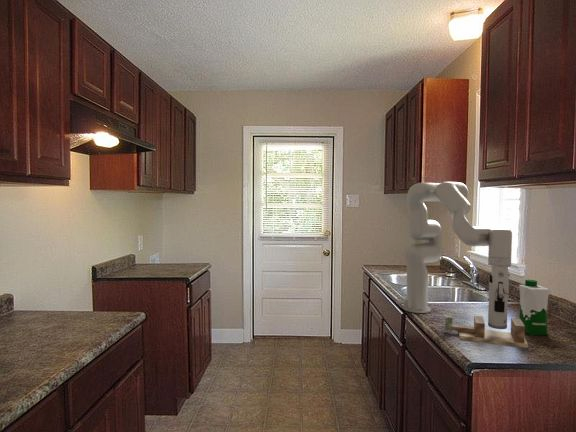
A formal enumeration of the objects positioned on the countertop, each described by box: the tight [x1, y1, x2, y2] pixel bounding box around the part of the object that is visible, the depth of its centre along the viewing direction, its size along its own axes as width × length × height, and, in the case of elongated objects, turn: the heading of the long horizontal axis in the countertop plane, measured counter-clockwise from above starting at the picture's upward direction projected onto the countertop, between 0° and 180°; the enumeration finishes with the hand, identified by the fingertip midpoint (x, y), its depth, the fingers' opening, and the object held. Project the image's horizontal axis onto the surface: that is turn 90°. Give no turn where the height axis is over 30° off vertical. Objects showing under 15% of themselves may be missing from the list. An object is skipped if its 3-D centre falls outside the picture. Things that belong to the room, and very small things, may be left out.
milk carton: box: [518, 279, 551, 336], centre depth 155 cm, size 9×9×20 cm
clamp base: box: [458, 317, 529, 349], centre depth 147 cm, size 22×12×7 cm, turn 67°
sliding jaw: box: [444, 313, 486, 337], centre depth 151 cm, size 13×10×5 cm
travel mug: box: [487, 274, 510, 330], centre depth 146 cm, size 6×7×20 cm
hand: (498, 309), depth 146 cm, fingers closed on travel mug, 6 cm apart
